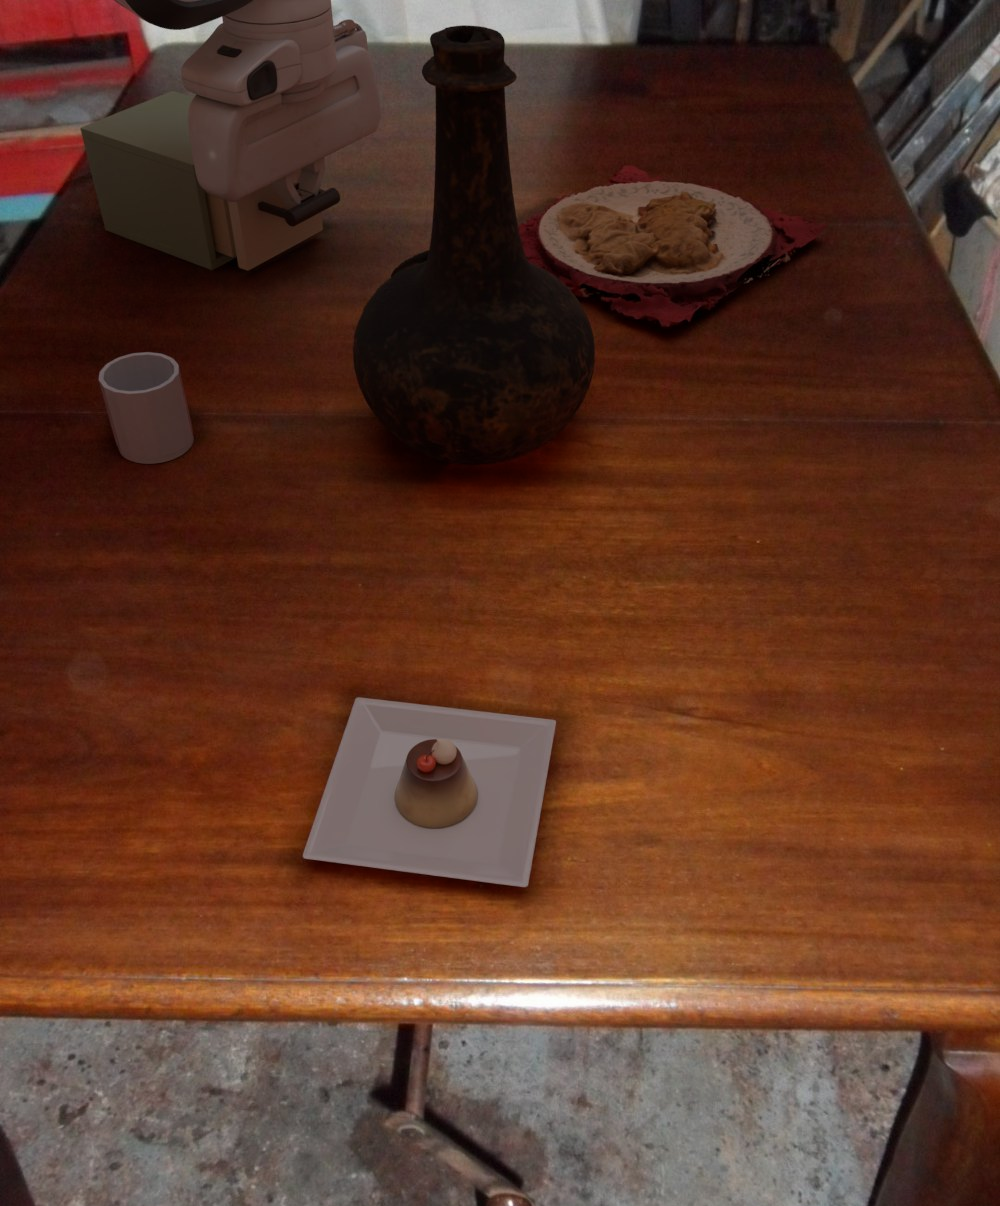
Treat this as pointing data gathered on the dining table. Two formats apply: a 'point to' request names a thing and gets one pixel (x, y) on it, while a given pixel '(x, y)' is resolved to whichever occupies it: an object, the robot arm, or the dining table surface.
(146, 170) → the cabinet
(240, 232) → the drawer
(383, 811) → the dessert
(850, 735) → the dining table surface
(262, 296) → the dining table surface
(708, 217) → the plate with food
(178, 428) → the tin
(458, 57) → the glass bottle
